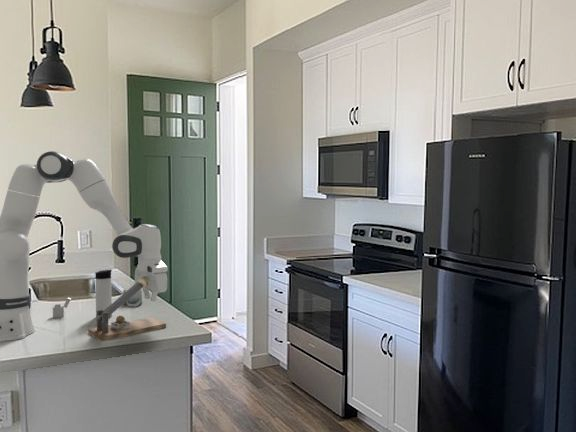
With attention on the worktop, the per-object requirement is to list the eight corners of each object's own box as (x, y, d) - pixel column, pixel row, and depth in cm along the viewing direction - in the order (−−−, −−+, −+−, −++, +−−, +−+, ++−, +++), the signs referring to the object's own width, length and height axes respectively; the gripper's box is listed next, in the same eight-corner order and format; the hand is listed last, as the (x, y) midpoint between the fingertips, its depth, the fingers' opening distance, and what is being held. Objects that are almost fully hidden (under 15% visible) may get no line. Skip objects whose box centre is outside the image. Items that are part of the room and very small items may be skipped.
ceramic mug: (123, 302, 245) (122, 286, 244) (141, 301, 248) (140, 285, 247) (124, 308, 235) (124, 291, 235) (143, 306, 238) (143, 290, 237)
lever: (104, 324, 193) (98, 316, 191) (99, 322, 196) (93, 314, 194) (152, 282, 205) (147, 275, 203) (147, 281, 208) (142, 273, 206)
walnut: (118, 325, 197) (118, 317, 197) (114, 323, 199) (114, 315, 199) (126, 324, 199) (126, 315, 199) (122, 322, 201) (122, 314, 201)
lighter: (52, 317, 218) (52, 298, 217) (53, 316, 219) (52, 298, 219) (71, 316, 220) (70, 297, 219) (71, 315, 222) (71, 296, 221)
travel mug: (107, 319, 216) (106, 271, 214) (93, 318, 217) (92, 270, 216) (115, 315, 222) (114, 268, 220) (101, 314, 223) (100, 268, 222)
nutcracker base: (101, 340, 188) (101, 316, 187) (88, 333, 197) (87, 309, 196) (166, 327, 206) (165, 304, 205) (151, 320, 214) (151, 299, 214)
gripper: (130, 262, 211) (130, 296, 212) (155, 269, 196) (155, 305, 198) (144, 261, 216) (145, 294, 217) (170, 267, 201) (170, 303, 202)
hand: (150, 299), depth 207 cm, fingers open, 3 cm apart
